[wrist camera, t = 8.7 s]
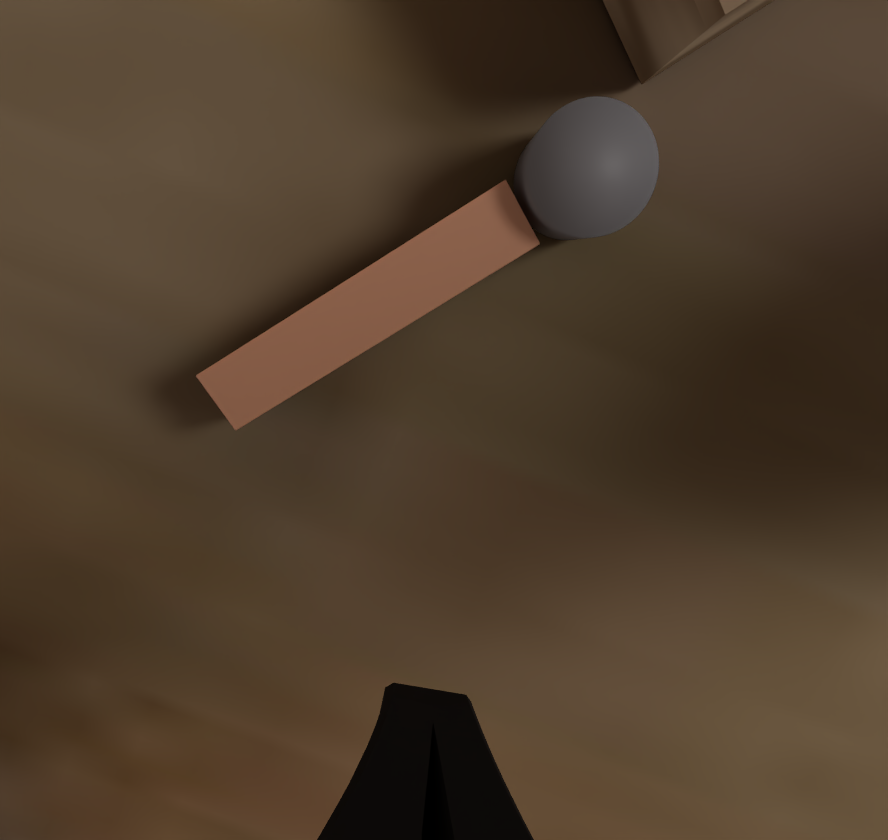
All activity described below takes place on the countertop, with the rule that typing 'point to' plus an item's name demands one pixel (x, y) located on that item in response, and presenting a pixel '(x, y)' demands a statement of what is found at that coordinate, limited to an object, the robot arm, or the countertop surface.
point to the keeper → (454, 253)
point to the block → (672, 28)
